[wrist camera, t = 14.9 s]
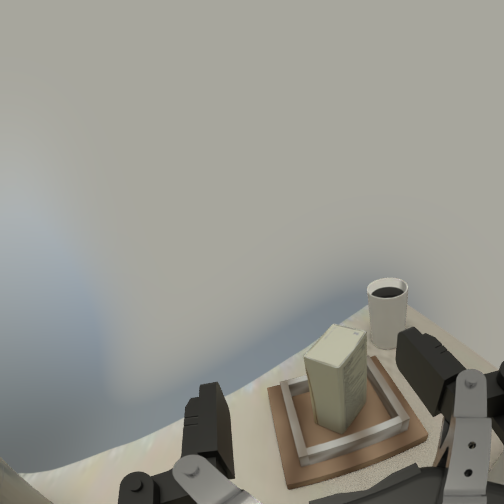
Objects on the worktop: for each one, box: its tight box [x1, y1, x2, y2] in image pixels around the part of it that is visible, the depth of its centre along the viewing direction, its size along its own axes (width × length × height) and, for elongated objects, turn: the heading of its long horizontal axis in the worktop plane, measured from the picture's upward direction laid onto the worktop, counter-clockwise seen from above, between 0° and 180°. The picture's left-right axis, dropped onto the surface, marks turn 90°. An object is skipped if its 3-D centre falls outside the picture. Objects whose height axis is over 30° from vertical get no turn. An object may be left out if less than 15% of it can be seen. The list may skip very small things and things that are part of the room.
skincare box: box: [304, 324, 367, 434], centre depth 31 cm, size 6×4×12 cm
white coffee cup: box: [367, 278, 408, 349], centre depth 44 cm, size 7×7×10 cm
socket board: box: [267, 355, 428, 490], centre depth 33 cm, size 17×17×4 cm
